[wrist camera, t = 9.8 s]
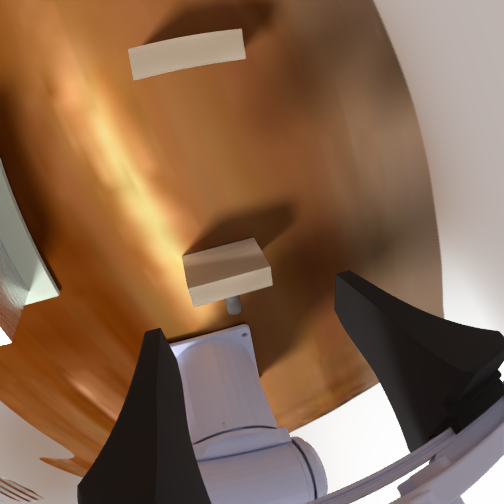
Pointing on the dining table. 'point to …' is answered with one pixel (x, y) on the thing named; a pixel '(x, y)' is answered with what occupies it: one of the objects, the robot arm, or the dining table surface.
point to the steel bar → (10, 296)
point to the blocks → (230, 255)
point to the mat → (23, 247)
